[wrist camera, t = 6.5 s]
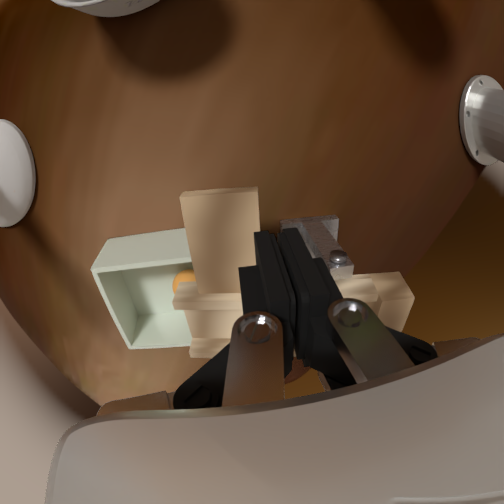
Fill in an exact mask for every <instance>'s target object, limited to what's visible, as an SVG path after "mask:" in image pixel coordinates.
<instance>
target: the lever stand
mask: <svg viewBox="0 0 504 504" xmlns="http://www.w3.org/2000/svg"><path fill="white" fill-rule="evenodd" d="M338 223H339V218H338V217H337V216H336V215H328V216H317V217H307V218H296V219H286V220H280V233H282V229H286V228H295V227H297V228H298V230H299V232H300V234H301V236H302V238H303V240H304V242H305V244H306V246H307V248H308V250H309V252H310V254H311V256H312V258H318V257H321V258H322V259H323V260H324V262H325V264H326V266H327V268H328V269H329V271H330V273H331V275H332V277H333V279H334V280H340V279H346V278H352V274H353V268H354V264H353V263H352V262H351V260H350V259H349V258H348V256H347V254H346V252H344V251H343V249H342V248H341V247H340V245H339V244H338V243H337V234H338Z"/></svg>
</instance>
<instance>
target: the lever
mask: <svg viewBox="0 0 504 504" xmlns="http://www.w3.org/2000/svg"><path fill="white" fill-rule="evenodd" d="M180 203H181V209H182V214H183V220H184V225H185V230H186V235H187V240H188V245H189V250H190V255H191V260H192V265H193V269H194V274H195V279H196V281H191V282H179V284H178V287H177V290H176V292H175V295H174V298H173V301H172V304H173V307H174V310H184V313H185V316H186V320H187V323H188V326H189V329H190V333H191V336H192V341H191V346H190V350H189V354H190V356H191V358H213V357H214V356H215V355H216V354H217V353H218V352H220V351H221V350H222V349H223V348H224V347H225V346H226V345H227V344H229V343H230V340H231V333H232V327H233V325H234V323H235V321H236V320H237V319H238V318H239V317H241V316H242V315H243V308H242V299H241V290H240V281H239V271H238V267H245V266H254V265H256V257H255V245H254V232H259V231H260V216H259V199H258V187H241V188H225V189H211V190H199V191H187V192H183V193H182V194H181V196H180ZM334 281H335V283H336V285H337V286H338V288H339V290H340V292H341V294H342V296H343V298H355V299H358V300H361V301H363V302H365V303H366V304H367V305H368V306H369V307H370V308H371V309H372V310H373V311H374V313H375V314H376V315H377V316H378V318H379V319H380V320H381V322H382V323H383V324H384V325H385V326H387V327H389V328H392V329H394V330H397V331H399V332H401V331H402V329H403V327H404V324H405V322H406V319H407V317H408V314H409V312H410V309H411V306H412V304H413V301H414V298H415V297H414V296H413V294H412V292H411V290H410V289H409V287H408V285H407V284H406V282H405V280H404V279H403V277H402V276H401V274H400V272H389V273H375V274H360V275H352V278H346V279H340V280H334ZM294 357H296V354H295V350H294Z"/></svg>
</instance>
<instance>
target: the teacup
mask: <svg viewBox="0 0 504 504" xmlns="http://www.w3.org/2000/svg"><path fill="white" fill-rule="evenodd" d="M52 1H53V2H55V3H56V4H58V5H62V6H65V7H71V8H74V9H76V10H79V11H82V12H85V13H88V14H91V15H95V16H100V17H118V16H124V15H128V14H132V13H135V12H138V11H141V10H143V9H145V8H147V7H149V6H151V5H153V4H155V3H156V2H158V1H160V0H52Z"/></svg>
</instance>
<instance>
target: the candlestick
mask: <svg viewBox="0 0 504 504" xmlns="http://www.w3.org/2000/svg"><path fill="white" fill-rule="evenodd" d="M35 182H36V175H35V165H34V159H33V155H32V152H31V149H30V146H29V144H28V142H27V140H26V138H25V136H24V135H23V133H22V132H21V131H20V129H19V128H18V127H17V126H16V125H14V124H13V123H11V122H9V121H7V120H3V119H0V227H9V226H12V225H14V224H16V223H17V222H19V221H20V220H21V219H22V218H23V217H24V216H25V215H26V213H27V212H28V210H29V208H30V206H31V203H32V201H33V197H34V192H35Z"/></svg>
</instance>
